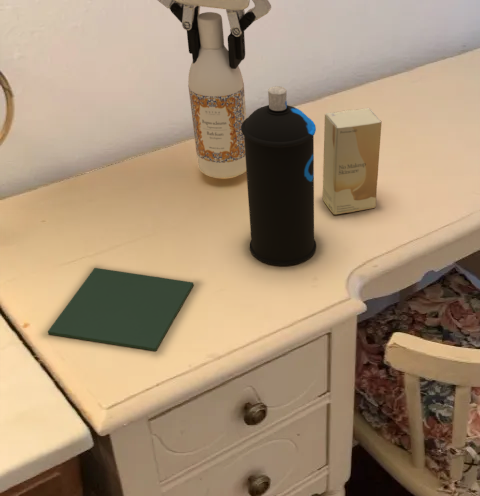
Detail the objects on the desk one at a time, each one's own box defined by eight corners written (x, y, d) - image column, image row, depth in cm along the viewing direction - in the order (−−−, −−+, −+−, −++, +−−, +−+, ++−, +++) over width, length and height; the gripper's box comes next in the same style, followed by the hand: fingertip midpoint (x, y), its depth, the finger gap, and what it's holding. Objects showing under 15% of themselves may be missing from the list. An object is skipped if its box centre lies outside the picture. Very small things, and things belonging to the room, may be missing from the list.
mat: (48, 334, 89) (47, 331, 89) (95, 270, 98) (94, 267, 97) (155, 351, 88) (155, 348, 88) (193, 285, 97) (193, 282, 96)
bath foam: (193, 178, 112) (173, 24, 98) (204, 153, 117) (187, 4, 103) (244, 181, 111) (232, 28, 98) (253, 157, 116) (243, 7, 103)
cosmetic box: (333, 216, 109) (334, 128, 100) (321, 200, 111) (321, 112, 103) (378, 207, 111) (383, 120, 102) (365, 191, 114) (369, 105, 105)
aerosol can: (261, 272, 99) (251, 111, 85) (241, 235, 104) (229, 79, 91) (326, 259, 102) (326, 101, 88) (303, 224, 107) (300, 70, 93)
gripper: (287, -105, 93) (290, 59, 106) (144, -121, 95) (164, 42, 107) (270, -87, 88) (275, 83, 101) (118, -104, 89) (142, 65, 102)
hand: (217, 60), depth 104 cm, fingers closed on bath foam, 4 cm apart
